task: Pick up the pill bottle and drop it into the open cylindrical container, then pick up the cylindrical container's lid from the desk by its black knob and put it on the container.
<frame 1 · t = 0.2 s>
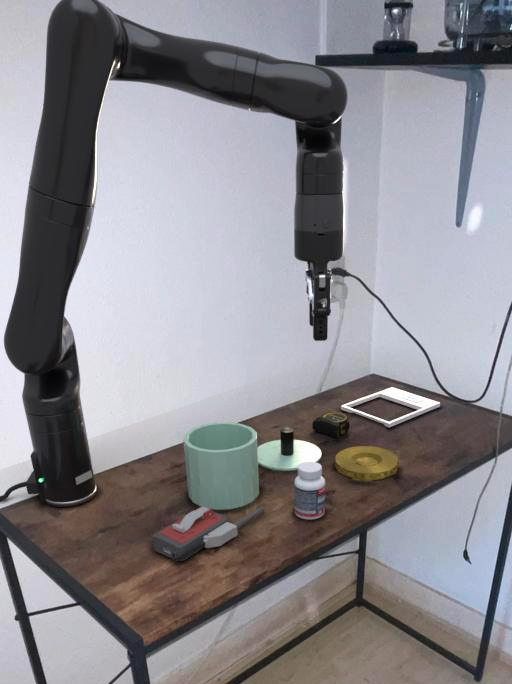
hand: (318, 332, 112), 29 cm above the table, tool pointing down, fingers open, 8 cm apart
lid: (287, 455, 137), point 1 cm above the table
cylindrical container: (224, 494, 124), on the table
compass: (366, 470, 133), on the table
walkie-talkie: (209, 535, 113), on the table
tape measure: (331, 435, 147), on the table
photo frame: (390, 408, 160), on the table
pill bottle: (309, 513, 118), on the table
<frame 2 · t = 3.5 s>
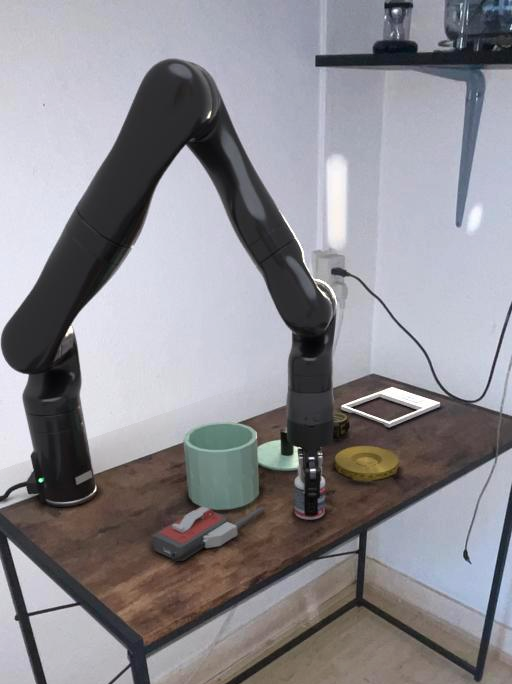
hand: (309, 505, 117), 1 cm above the table, tool pointing down, fingers closed on pill bottle, 5 cm apart
pill bottle: (309, 513, 118), on the table, touching gripper
everything else where it was.
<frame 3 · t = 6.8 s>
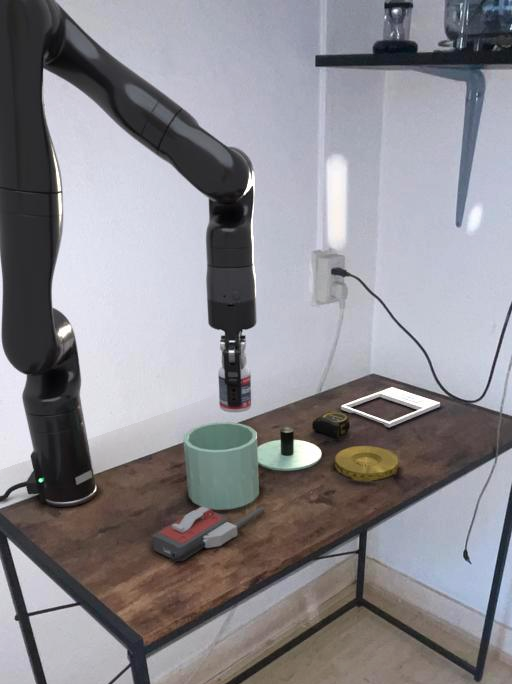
hand: (235, 399, 113), 19 cm above the table, tool pointing down, fingers closed on pill bottle, 5 cm apart
pill bottle: (235, 408, 114), point 17 cm above the table, touching gripper
everything else where it was.
when the fingers open (10 cm above the table, at t = 10.1 s): pill bottle drops 8 cm, resting on cylindrical container.
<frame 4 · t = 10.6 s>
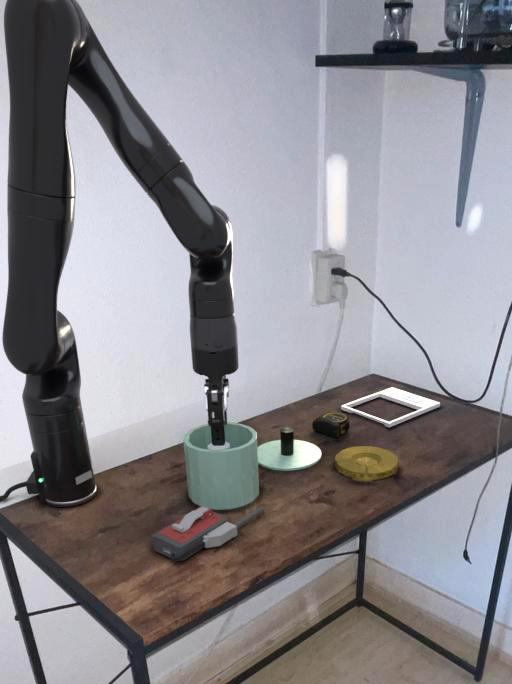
hand: (219, 434, 118), 12 cm above the table, tool pointing down, fingers open, 8 cm apart
pill bottle: (223, 492, 124), resting on cylindrical container
everything else where it was.
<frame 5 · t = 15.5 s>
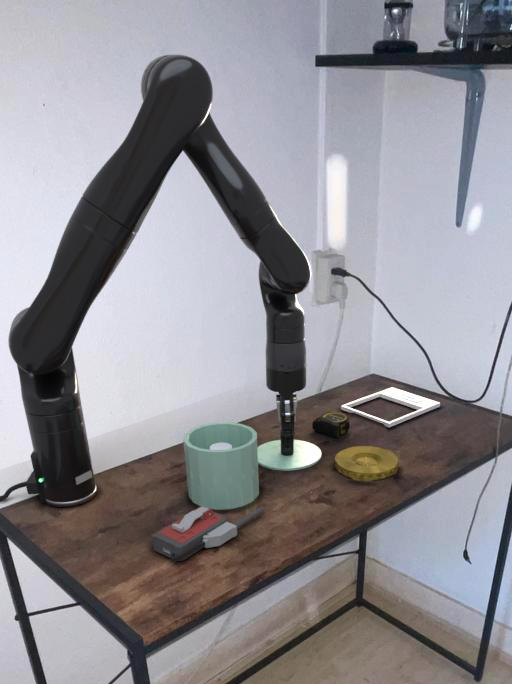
hand: (287, 447, 136), 2 cm above the table, tool pointing down, fingers closed on lid, 2 cm apart
lid: (287, 455, 137), point 1 cm above the table, touching gripper
everything else where it was.
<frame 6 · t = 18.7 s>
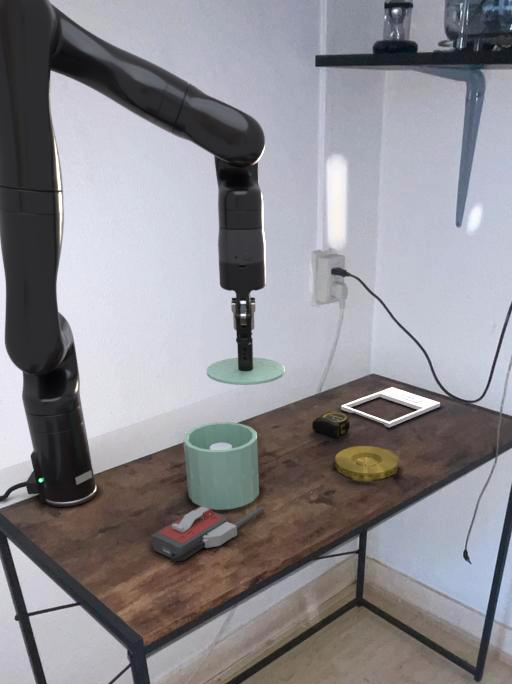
hand: (245, 361, 118), 23 cm above the table, tool pointing down, fingers closed on lid, 2 cm apart
lid: (245, 371, 119), point 21 cm above the table, touching gripper
everything else where it was.
when the fingers open (13 cm above the table, at t = 21.9 s): lid stays where it is, resting on cylindrical container.
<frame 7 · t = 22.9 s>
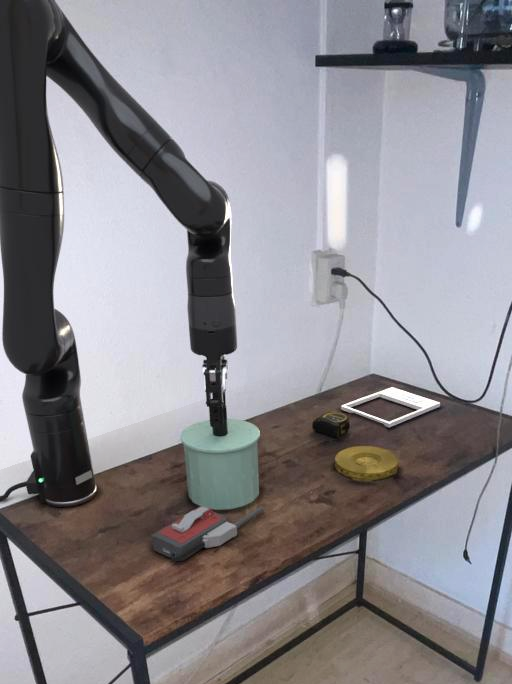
hand: (218, 416, 117), 15 cm above the table, tool pointing down, fingers open, 8 cm apart
lid: (220, 436, 119), point 11 cm above the table, touching cylindrical container
everything else where it was.
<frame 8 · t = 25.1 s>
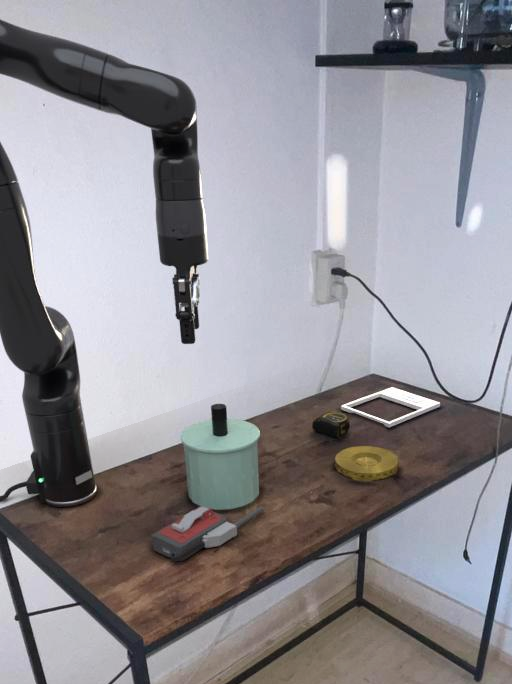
hand: (190, 335, 113), 28 cm above the table, tool pointing down, fingers open, 8 cm apart
nothing on the table moved.
at the end: pill bottle inside the target area in the cylindrical container (0.2 cm from its centre), point 0.3 cm above the cylindrical container's base; lid 0.0 cm off-centre on the cylindrical container, point 11.5 cm above the cylindrical container's base; lid tilted 0° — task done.
